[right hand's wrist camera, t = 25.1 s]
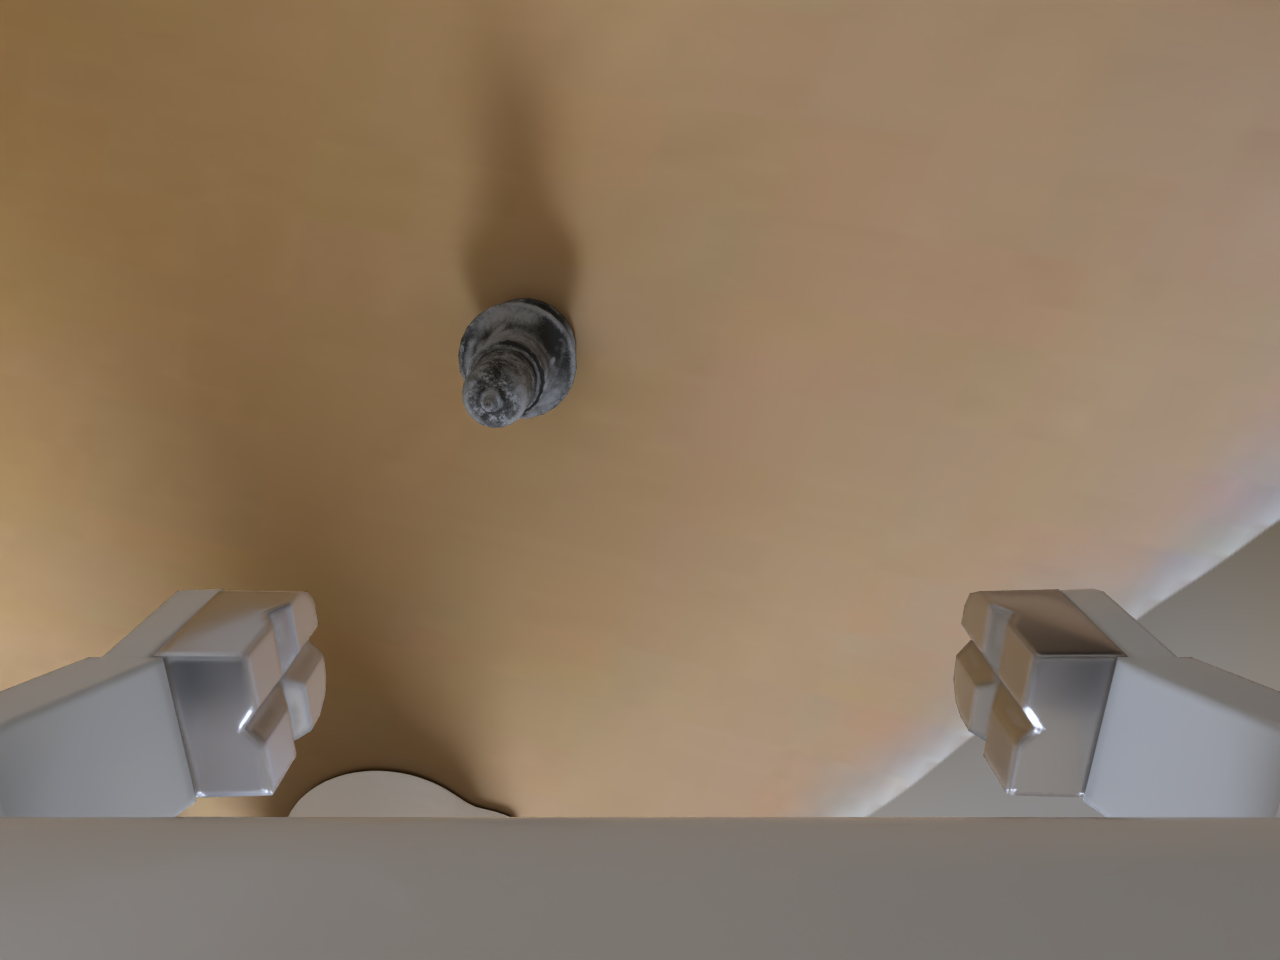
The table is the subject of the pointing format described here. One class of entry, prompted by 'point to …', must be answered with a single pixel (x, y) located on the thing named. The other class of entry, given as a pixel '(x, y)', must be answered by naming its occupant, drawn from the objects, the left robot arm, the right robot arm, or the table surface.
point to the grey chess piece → (516, 362)
